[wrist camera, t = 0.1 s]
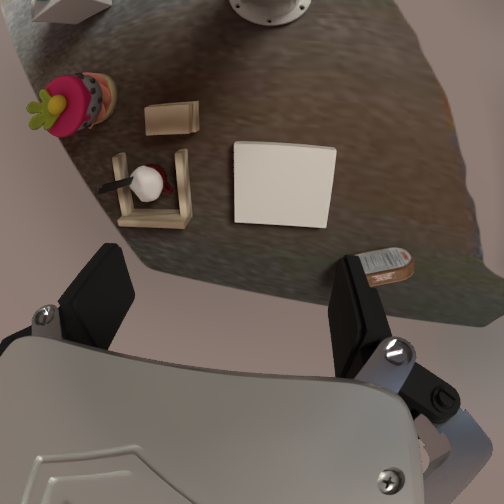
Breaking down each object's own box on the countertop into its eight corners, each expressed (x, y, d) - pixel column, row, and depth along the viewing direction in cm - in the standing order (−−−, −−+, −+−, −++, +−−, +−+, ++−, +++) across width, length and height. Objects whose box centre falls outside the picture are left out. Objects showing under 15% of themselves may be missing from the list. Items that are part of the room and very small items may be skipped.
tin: (337, 266, 55) (344, 294, 48) (335, 253, 54) (342, 281, 47) (406, 253, 52) (420, 279, 45) (406, 240, 50) (421, 265, 43)
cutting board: (235, 141, 43) (233, 143, 42) (334, 147, 42) (336, 150, 41) (236, 217, 51) (234, 222, 50) (324, 222, 50) (325, 228, 48)
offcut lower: (154, 104, 41) (148, 105, 39) (199, 100, 40) (195, 101, 38) (156, 131, 44) (150, 134, 42) (200, 129, 43) (196, 132, 41)
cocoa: (181, 181, 49) (161, 211, 39) (159, 202, 51) (136, 234, 41) (146, 144, 45) (116, 165, 35) (125, 167, 47) (94, 193, 37)
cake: (105, 60, 36) (49, 62, 23) (129, 104, 40) (77, 119, 28) (69, 93, 39) (14, 108, 26) (90, 134, 44) (38, 159, 31)
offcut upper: (151, 105, 39) (144, 107, 37) (193, 103, 38) (188, 104, 36) (152, 132, 41) (145, 135, 39) (193, 130, 41) (189, 133, 39)
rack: (120, 152, 46) (106, 160, 41) (187, 148, 45) (177, 156, 41) (130, 214, 53) (118, 226, 49) (192, 215, 52) (184, 228, 48)
